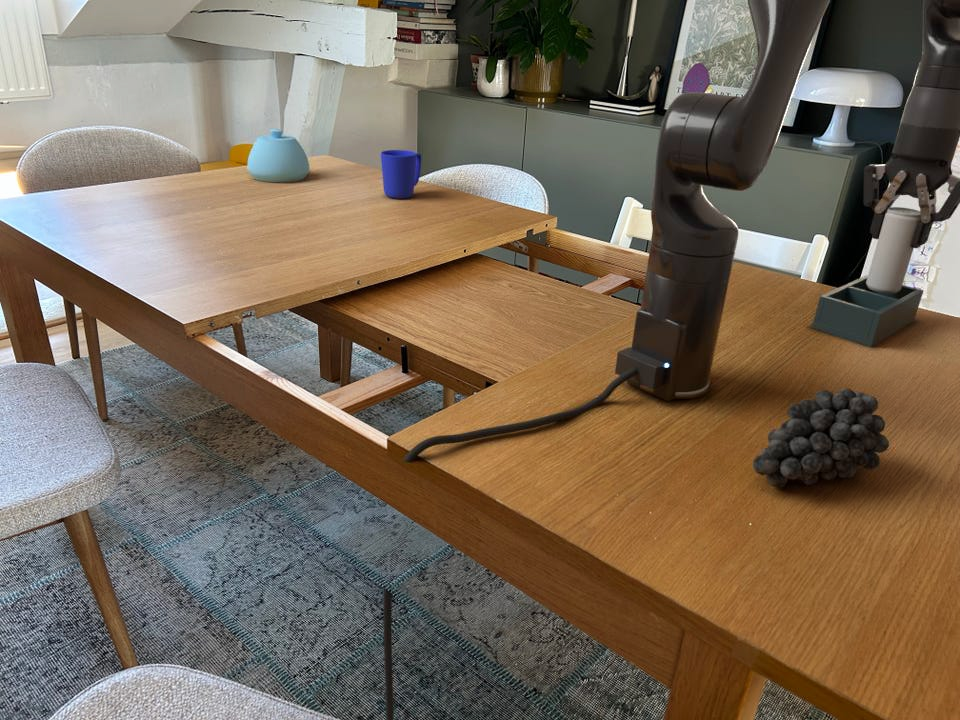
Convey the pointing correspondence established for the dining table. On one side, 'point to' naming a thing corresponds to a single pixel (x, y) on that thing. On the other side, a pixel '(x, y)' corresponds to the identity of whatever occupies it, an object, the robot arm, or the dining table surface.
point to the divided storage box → (865, 312)
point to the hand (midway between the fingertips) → (896, 242)
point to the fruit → (824, 439)
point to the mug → (400, 172)
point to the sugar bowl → (277, 158)
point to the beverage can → (893, 250)
